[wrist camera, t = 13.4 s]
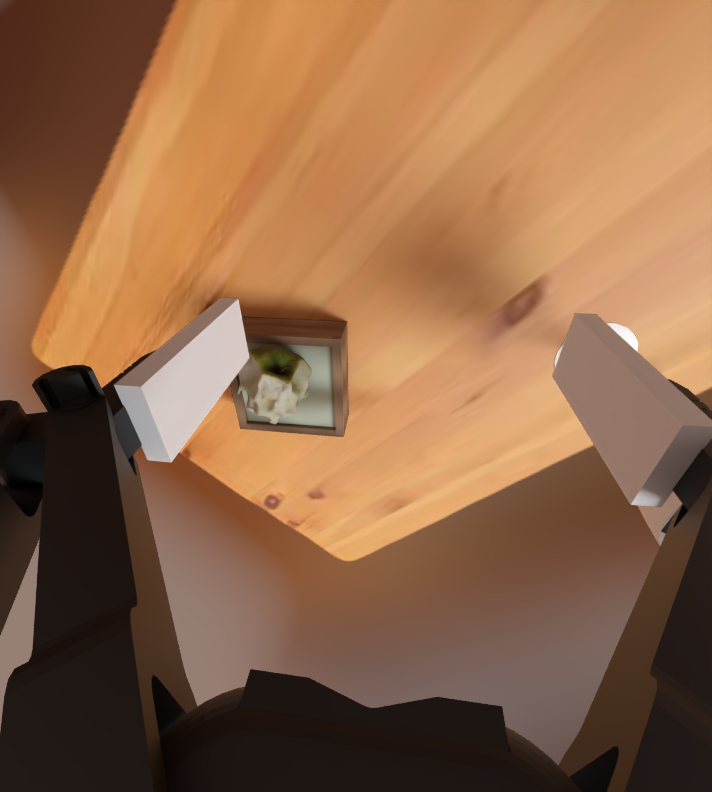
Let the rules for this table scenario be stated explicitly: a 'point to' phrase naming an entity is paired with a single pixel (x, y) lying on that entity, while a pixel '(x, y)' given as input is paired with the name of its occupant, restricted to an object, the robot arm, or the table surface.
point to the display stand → (327, 381)
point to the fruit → (274, 381)
